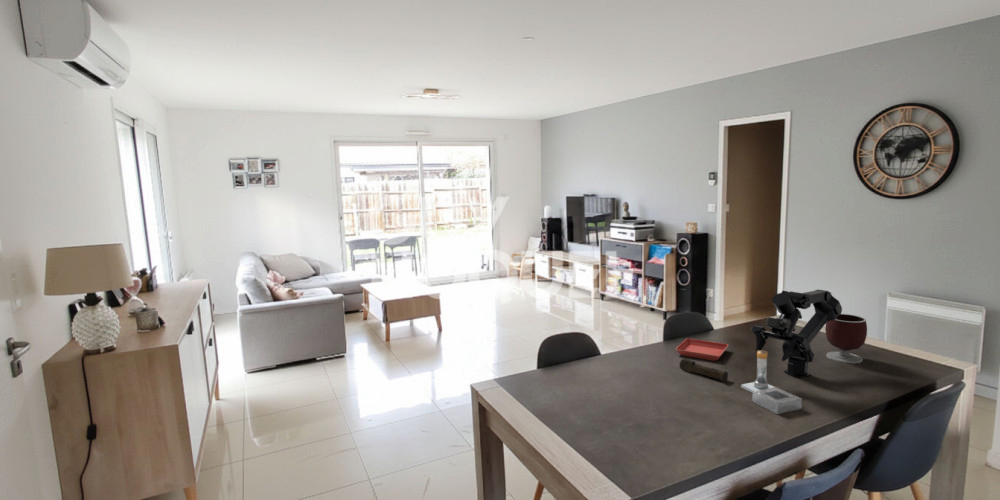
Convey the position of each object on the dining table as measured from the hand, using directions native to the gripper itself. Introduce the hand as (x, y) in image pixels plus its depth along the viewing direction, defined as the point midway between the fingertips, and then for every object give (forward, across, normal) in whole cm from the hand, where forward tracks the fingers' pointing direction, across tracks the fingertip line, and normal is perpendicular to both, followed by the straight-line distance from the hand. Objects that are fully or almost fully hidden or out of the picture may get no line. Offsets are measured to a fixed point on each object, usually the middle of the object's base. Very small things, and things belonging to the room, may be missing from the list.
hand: (769, 356), depth 175 cm
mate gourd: (-28, +2, +45) cm, 53 cm away
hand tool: (+15, -21, +2) cm, 26 cm away
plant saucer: (0, -36, +17) cm, 40 cm away
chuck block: (+16, +9, -1) cm, 19 cm away
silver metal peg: (+10, 0, +4) cm, 11 cm away
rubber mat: (+11, 0, +5) cm, 12 cm away
